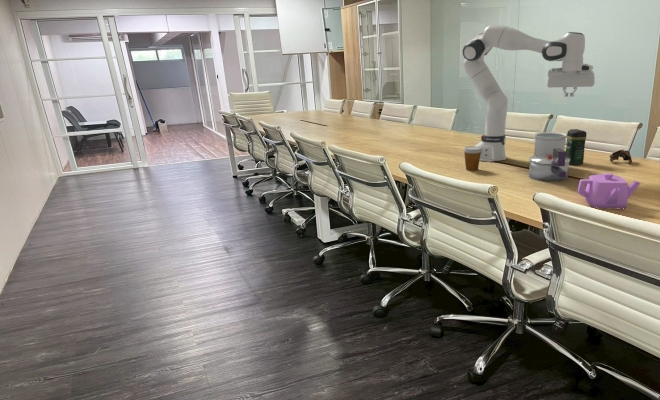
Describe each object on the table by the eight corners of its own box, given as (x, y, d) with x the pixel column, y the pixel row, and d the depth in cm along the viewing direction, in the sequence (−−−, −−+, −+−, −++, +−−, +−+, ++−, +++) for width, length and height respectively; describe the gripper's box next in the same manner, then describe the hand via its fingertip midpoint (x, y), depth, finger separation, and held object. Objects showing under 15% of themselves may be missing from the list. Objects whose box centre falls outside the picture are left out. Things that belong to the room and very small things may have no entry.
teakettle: (595, 195, 180) (599, 166, 177) (639, 204, 166) (644, 174, 162) (570, 203, 173) (574, 173, 169) (614, 214, 158) (619, 182, 155)
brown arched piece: (630, 167, 220) (622, 153, 219) (611, 172, 228) (604, 159, 228) (639, 157, 226) (631, 144, 225) (620, 162, 234) (613, 149, 233)
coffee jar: (585, 165, 227) (589, 130, 222) (570, 166, 227) (574, 131, 222) (576, 161, 236) (580, 127, 231) (561, 162, 237) (565, 128, 231)
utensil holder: (565, 170, 219) (568, 136, 214) (533, 170, 225) (536, 136, 219) (561, 164, 233) (564, 132, 227) (531, 163, 238) (533, 132, 232)
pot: (522, 171, 224) (523, 156, 221) (557, 170, 221) (558, 155, 218) (541, 187, 195) (542, 170, 192) (581, 186, 192) (583, 169, 189)
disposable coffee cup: (481, 167, 236) (482, 146, 233) (481, 171, 228) (482, 149, 224) (463, 167, 240) (463, 146, 236) (462, 171, 231) (463, 149, 227)
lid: (525, 157, 218) (526, 142, 216) (562, 156, 215) (564, 141, 212) (539, 168, 194) (541, 152, 192) (581, 168, 191) (583, 151, 189)
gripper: (547, 68, 210) (544, 97, 214) (595, 66, 199) (592, 96, 203) (549, 68, 215) (546, 96, 219) (596, 66, 204) (593, 95, 208)
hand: (569, 96), depth 211 cm, fingers closed
